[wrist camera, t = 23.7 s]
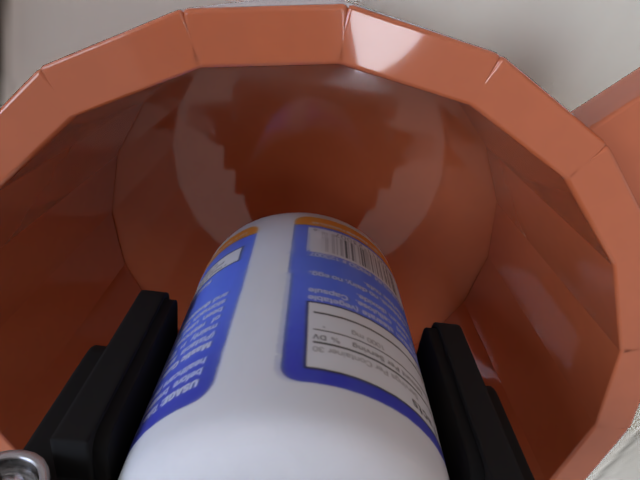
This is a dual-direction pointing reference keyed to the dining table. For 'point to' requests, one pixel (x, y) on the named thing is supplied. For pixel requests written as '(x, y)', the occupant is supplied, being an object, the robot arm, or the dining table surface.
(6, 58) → the dining table surface
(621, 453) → the dining table surface
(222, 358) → the pill bottle
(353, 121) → the orange cooking pot
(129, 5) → the dining table surface
